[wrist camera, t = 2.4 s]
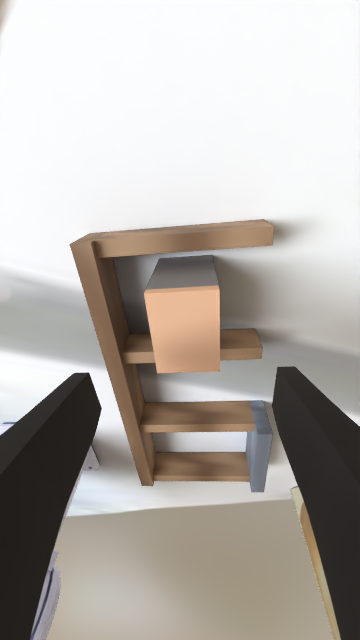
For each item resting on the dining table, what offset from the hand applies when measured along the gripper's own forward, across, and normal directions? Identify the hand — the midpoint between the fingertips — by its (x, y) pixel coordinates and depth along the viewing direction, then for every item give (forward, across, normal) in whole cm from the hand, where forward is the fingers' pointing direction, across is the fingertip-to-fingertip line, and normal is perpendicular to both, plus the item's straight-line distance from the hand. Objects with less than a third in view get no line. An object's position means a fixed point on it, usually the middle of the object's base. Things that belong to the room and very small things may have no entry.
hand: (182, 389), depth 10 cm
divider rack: (+10, 0, +8) cm, 13 cm away
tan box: (+10, 0, 0) cm, 10 cm away
